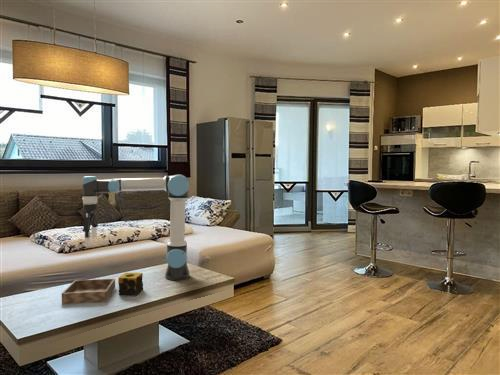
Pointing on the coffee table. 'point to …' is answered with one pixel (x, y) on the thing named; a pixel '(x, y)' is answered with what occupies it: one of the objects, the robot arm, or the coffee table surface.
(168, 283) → the coffee table surface
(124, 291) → the candle
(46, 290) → the coffee table surface
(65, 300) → the crate
